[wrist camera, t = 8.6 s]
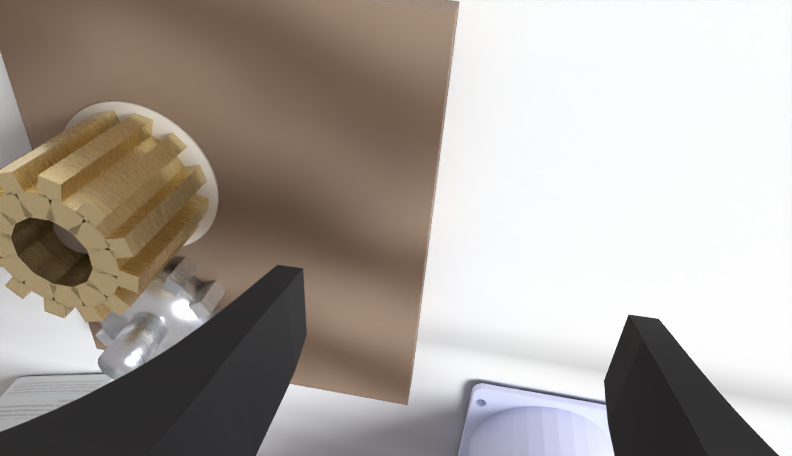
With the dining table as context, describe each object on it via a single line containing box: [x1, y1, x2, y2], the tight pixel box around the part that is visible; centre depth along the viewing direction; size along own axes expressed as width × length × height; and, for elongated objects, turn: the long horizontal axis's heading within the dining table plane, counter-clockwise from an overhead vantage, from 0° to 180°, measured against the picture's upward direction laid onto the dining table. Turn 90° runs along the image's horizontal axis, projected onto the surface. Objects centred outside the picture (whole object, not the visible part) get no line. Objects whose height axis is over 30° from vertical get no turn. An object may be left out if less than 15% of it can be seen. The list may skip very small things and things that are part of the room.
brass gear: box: [0, 110, 209, 322], centre depth 19 cm, size 6×6×5 cm
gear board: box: [0, 0, 459, 405], centre depth 21 cm, size 18×16×6 cm
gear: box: [95, 257, 225, 380], centre depth 24 cm, size 6×6×4 cm
